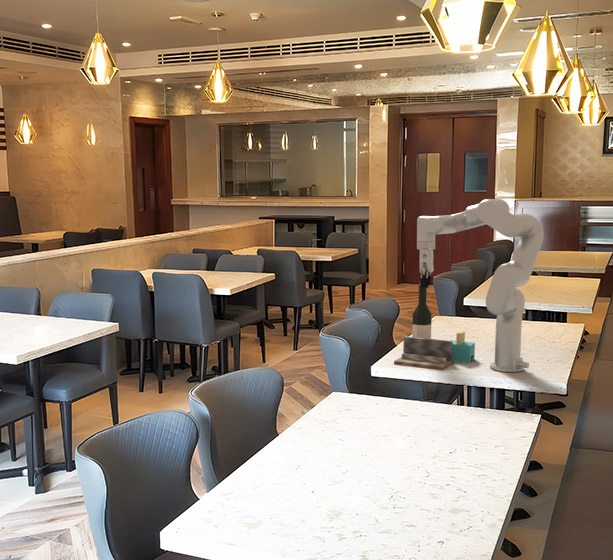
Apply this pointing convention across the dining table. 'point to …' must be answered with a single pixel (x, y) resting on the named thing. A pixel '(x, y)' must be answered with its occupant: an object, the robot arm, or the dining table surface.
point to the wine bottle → (422, 317)
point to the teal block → (462, 349)
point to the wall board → (426, 353)
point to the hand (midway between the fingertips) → (425, 286)
